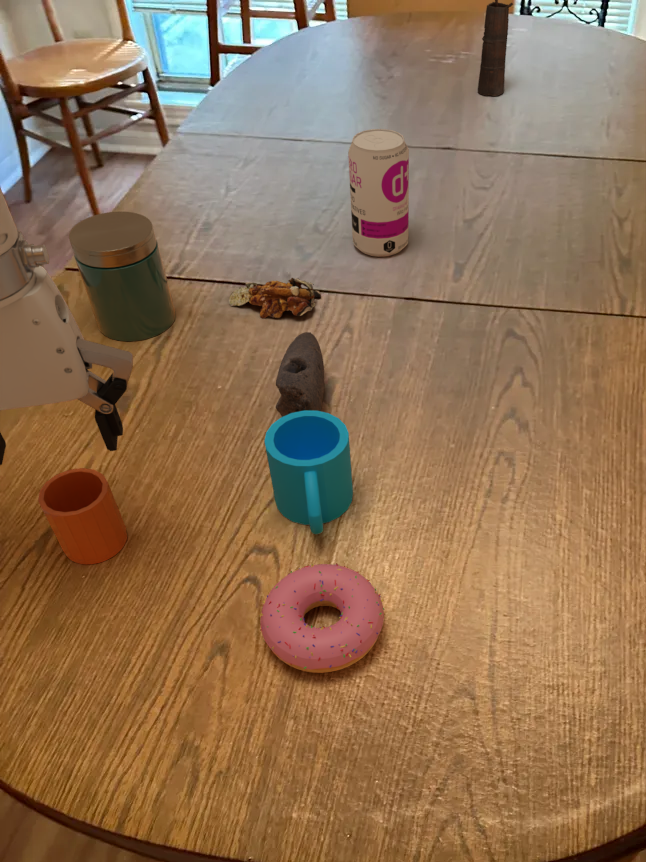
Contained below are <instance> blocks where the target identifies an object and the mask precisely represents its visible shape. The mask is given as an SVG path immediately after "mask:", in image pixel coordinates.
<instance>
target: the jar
mask: <svg viewBox="0 0 646 862" xmlns="http://www.w3.org/2000/svg"><path fill="white" fill-rule="evenodd" d="M73 257H74V260H75V264H76V266H77V269H78V272H79V275H80V277H81V281H82V284H83V287H84V289H85V293H86V296H87V298H88V302H89V304H90V307H91V310H92V313H93V316H94V319H95V322H96V324H97V327H98V330H99V331H100V333H101V334H102V335H103V336H105V337H106V338H108V339H111V340H114V341H120V342H139V341H144V340H149V339H151V338H154V337H157V336H158V335H161V334H162V333H165V332H166V331H167V330H168V329H169V328H170V327H172V325H173V324H174V322H175V320H176V309H175V306H174V302H173V298H172V295H171V294H172V293H171V290H170V285H169V282H168V278H167V274H166V270H165V266H164V262H163V257H162V254H161V250H160V246H159V242H158V240H157V239H156V247H155V249H154V250H153V252H152V253H151V254H149V255H148V256H147V257H145V258H144V259H142V260H140V261H137V262H135V263H132V264H129V265H125V266H120V267H112V268H100V267H92V266H88V265H86V264H83V263H81V262H80V261H79V260H78V259H77V258H76V257H75V255H74V254H73Z"/></svg>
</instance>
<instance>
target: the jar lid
mask: <svg viewBox="0 0 646 862" xmlns="http://www.w3.org/2000/svg"><path fill="white" fill-rule="evenodd" d="M68 240H69V243H70V246H71V250H72V251H73V256H74V255H75V257H76V258H77V259H78V260H79V261H80V262H81V263H83V264H86V265H88V266H92V267H100V268H112V267H120V266H125V265H129V264H132V263H135V262H137V261H140V260H142V259H144V258H145V257H147V256H148V255H149V254H151V253H152V252H153V250H154V249H155V247H156V240H157V237H156V234H155V229H154V226H153V223H152V221H151V220H150V219H149V218H148V217H146V216H145V215H143V214H140V213H137V212H133V211H109V212H103V213H99V214H95V215H91V216H89V217H85V218H84V219H82V220H81V221H79V222H77V223H76V224H75V225H74V226H72V228H71V229H70V231H69V233H68ZM75 257H74V258H75Z"/></svg>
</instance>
